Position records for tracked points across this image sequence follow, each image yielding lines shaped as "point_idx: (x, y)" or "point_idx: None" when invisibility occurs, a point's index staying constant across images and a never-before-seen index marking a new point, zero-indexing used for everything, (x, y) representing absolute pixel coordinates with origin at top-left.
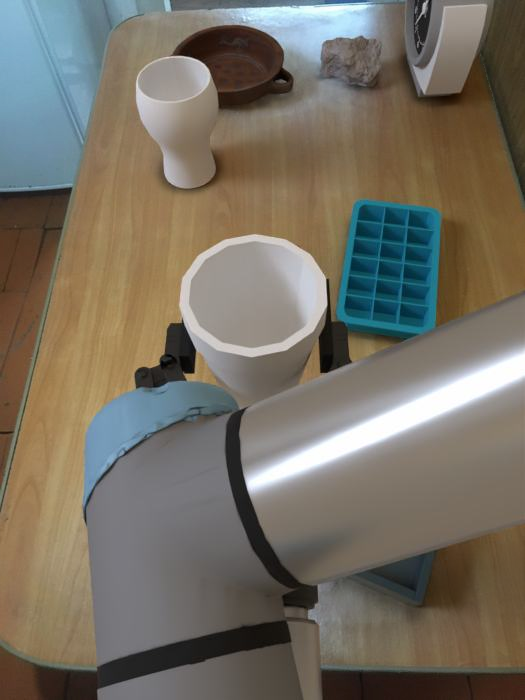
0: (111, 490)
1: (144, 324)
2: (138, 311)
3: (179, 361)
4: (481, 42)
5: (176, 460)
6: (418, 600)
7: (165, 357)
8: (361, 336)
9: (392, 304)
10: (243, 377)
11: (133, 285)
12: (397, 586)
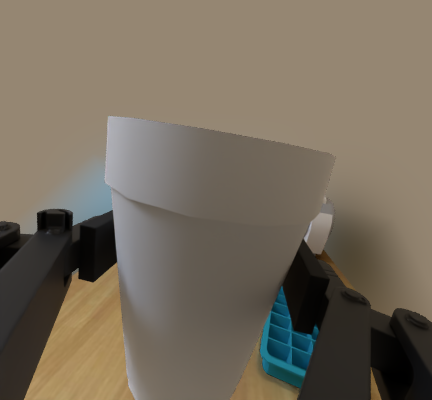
0: None
1: (103, 325)
2: (104, 314)
3: (77, 239)
4: (330, 231)
5: None
6: None
7: (55, 211)
8: (280, 384)
9: (306, 356)
10: (166, 248)
11: (112, 296)
12: None
